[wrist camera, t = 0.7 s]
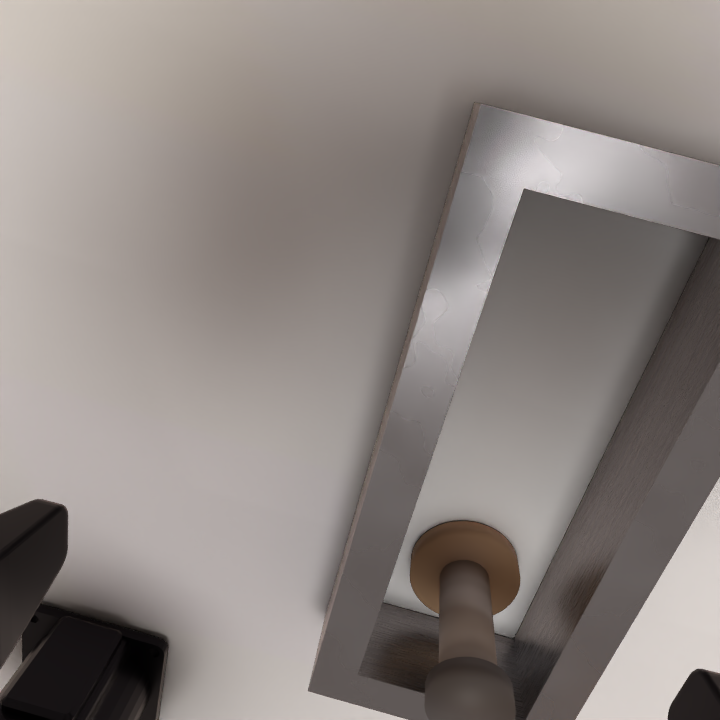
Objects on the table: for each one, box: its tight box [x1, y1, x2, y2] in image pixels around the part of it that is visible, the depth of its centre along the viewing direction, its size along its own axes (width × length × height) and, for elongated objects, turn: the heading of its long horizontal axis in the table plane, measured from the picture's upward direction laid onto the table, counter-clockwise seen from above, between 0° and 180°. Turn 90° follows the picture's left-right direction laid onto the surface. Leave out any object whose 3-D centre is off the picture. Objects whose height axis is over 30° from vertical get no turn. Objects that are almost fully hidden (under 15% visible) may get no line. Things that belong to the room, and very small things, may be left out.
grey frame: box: [308, 102, 720, 720], centre depth 19 cm, size 20×9×4 cm, turn 167°
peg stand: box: [410, 521, 520, 720], centre depth 20 cm, size 4×4×6 cm
